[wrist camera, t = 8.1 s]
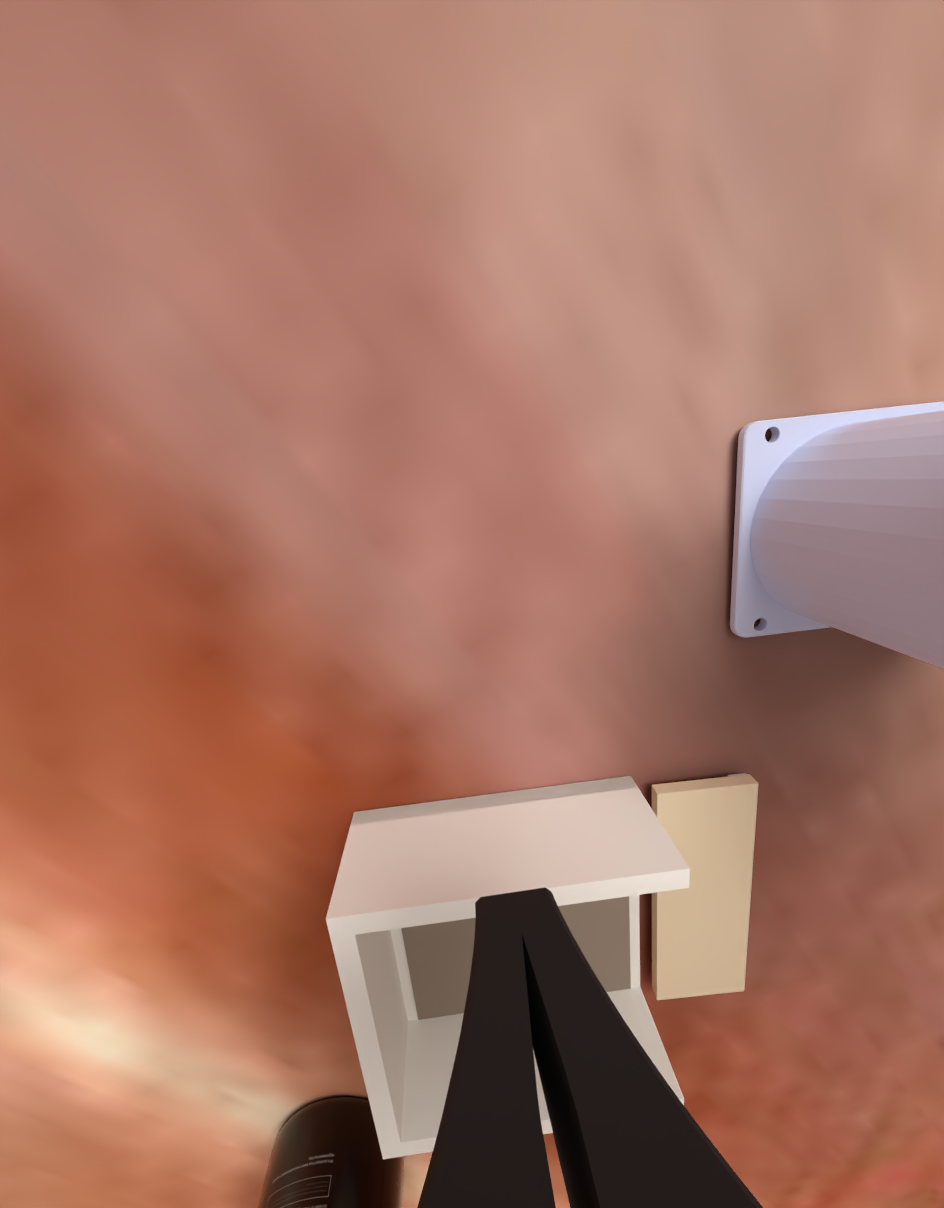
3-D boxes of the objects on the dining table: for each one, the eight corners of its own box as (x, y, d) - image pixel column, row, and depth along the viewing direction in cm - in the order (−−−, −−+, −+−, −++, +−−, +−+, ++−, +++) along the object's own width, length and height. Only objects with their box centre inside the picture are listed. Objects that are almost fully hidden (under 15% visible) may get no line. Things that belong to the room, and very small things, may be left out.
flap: (650, 783, 20) (748, 772, 20) (651, 985, 23) (735, 975, 23) (657, 793, 19) (758, 783, 19) (657, 1000, 22) (744, 991, 22)
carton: (630, 775, 20) (689, 868, 15) (633, 981, 23) (683, 1112, 19) (354, 811, 20) (325, 918, 15) (395, 1016, 23) (383, 1159, 18)
